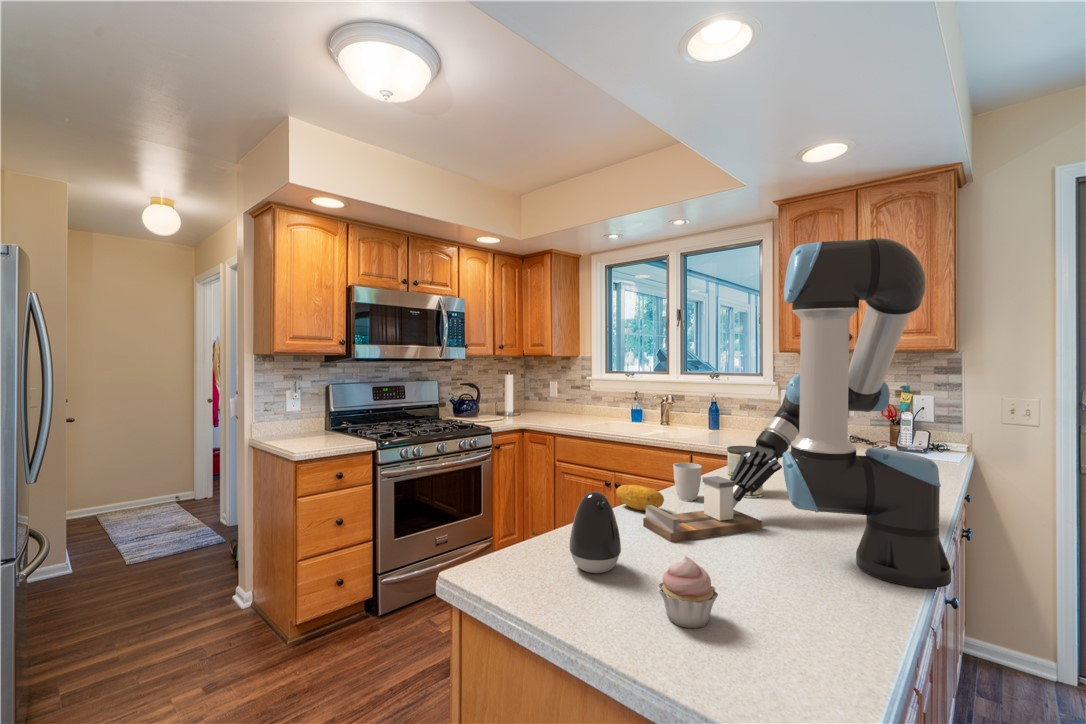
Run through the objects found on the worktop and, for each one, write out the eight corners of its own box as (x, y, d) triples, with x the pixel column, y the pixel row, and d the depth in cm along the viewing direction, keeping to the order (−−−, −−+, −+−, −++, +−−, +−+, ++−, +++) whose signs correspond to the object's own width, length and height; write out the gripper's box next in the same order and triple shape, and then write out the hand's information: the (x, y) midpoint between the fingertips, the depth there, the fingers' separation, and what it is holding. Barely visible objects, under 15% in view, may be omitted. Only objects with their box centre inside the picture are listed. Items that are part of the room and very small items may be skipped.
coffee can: (730, 488, 163) (730, 444, 163) (765, 492, 158) (765, 447, 158) (723, 495, 154) (723, 449, 154) (759, 500, 149) (759, 452, 149)
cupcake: (681, 599, 87) (681, 541, 87) (729, 621, 80) (729, 558, 80) (644, 615, 82) (644, 554, 82) (693, 641, 74) (693, 573, 74)
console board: (728, 515, 135) (728, 496, 135) (762, 529, 123) (762, 508, 123) (643, 525, 126) (643, 505, 126) (670, 542, 115) (670, 520, 115)
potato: (652, 517, 133) (652, 492, 132) (611, 507, 142) (611, 483, 142) (669, 511, 138) (669, 486, 138) (628, 501, 148) (628, 478, 148)
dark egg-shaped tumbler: (579, 582, 94) (579, 501, 94) (563, 561, 104) (562, 487, 104) (630, 576, 97) (630, 497, 97) (608, 555, 107) (608, 484, 107)
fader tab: (717, 511, 130) (717, 475, 130) (734, 519, 124) (734, 481, 124) (702, 513, 128) (702, 477, 128) (719, 521, 122) (719, 483, 122)
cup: (698, 495, 154) (698, 462, 154) (704, 503, 146) (704, 468, 146) (671, 494, 155) (671, 462, 155) (675, 502, 147) (675, 468, 147)
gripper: (804, 451, 129) (752, 525, 123) (766, 443, 141) (717, 510, 136) (787, 432, 127) (733, 506, 122) (750, 426, 139) (700, 493, 134)
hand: (725, 508), depth 129 cm, fingers closed
